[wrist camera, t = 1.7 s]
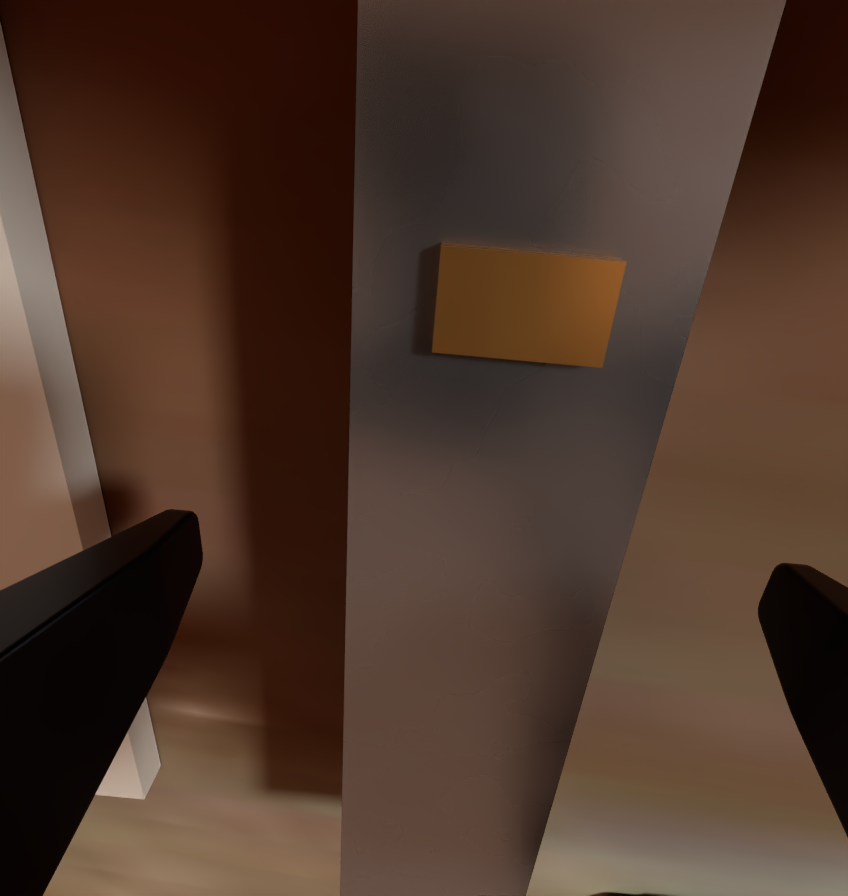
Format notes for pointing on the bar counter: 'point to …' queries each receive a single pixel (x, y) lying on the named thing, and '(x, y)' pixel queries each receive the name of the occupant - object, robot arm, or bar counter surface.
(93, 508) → the collar stand
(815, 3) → the bar counter surface
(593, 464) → the grey square bar
